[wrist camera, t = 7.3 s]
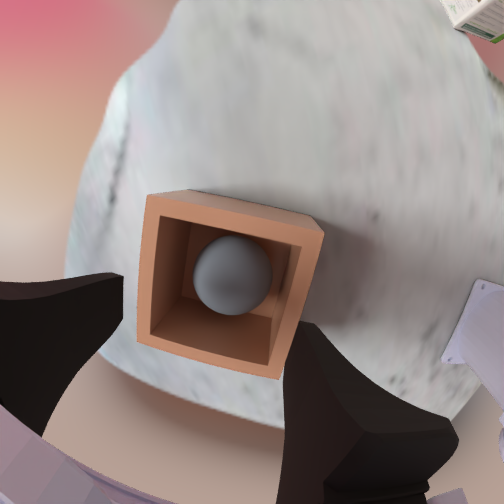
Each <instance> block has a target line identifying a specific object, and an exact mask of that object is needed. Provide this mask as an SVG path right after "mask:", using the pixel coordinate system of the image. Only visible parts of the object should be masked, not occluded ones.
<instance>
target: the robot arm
mask: <svg viewBox="0 0 504 504" xmlns="http://www.w3.org/2000/svg"><path fill="white" fill-rule="evenodd" d="M123 280H124V276H121V275H118V274H115V273H98V274H91V275H85V276H80V277H74V278H68V279H61V280H54V281H47V282H31V283H18V282H1V281H0V504H177V503H173V502H170V501H167V500H164V499H160V498H158V497H155V496H152V495H149V494H147V493H144V492H141V491H139V490H136V489H134V488H131V487H129V486H127V485H124V484H122V483H120V482H118V481H115V480H113V479H111V478H109V477H107V476H105V475H103V474H101V473H99V472H97V471H95V470H93V469H91V468H89V467H87V466H85V465H84V464H82V463H80V462H78V461H76V460H75V459H73V458H71V457H70V456H68V455H67V454H65V453H63V452H62V451H60V450H59V449H57V448H55V447H54V446H52V445H51V444H49V443H48V442H46V441H45V440H44V439H42V435H43V432H44V430H45V428H46V425H47V423H48V421H49V419H50V417H51V415H52V413H53V411H54V409H55V407H56V405H57V403H58V402H59V400H60V398H61V396H62V395H63V393H64V391H65V390H66V388H67V387H68V385H69V384H70V382H71V381H72V379H73V378H74V376H75V375H76V374H77V372H78V371H79V370H80V368H82V366H83V365H84V364H85V363H86V362H87V361H88V360H89V359H90V358H91V356H93V354H95V352H96V351H97V350H98V349H99V348H100V347H101V346H102V345H103V344H104V343H105V342H106V341H107V340H108V339H109V338H110V336H111V335H112V334H113V333H114V331H115V330H116V329H117V327H118V326H119V324H120V323H121V321H122V319H123ZM482 285H483V286H482ZM441 361H442V363H447V364H467V365H468V366H469V367H470V368H471V370H472V371H473V372H474V373H475V375H476V376H477V377H478V378H479V380H480V381H481V382H482V383H483V385H484V386H485V387H486V389H487V390H488V391H489V392H490V394H491V395H492V396H493V398H494V399H495V401H496V402H497V403H498V405H499V406H500V407H501V409H502V410H503V414H502V415H501V416H500V418H499V421H500V422H501V424H502V425H503V429H502V430H501V432H500V435H499V451H500V455H501V458H502V460H503V463H504V286H502V285H498V284H495V283H492V282H489V281H486V280H483V279H477V280H476V281H475V283H474V286H473V288H472V291H471V294H470V296H469V299H468V301H467V304H466V306H465V308H464V311H463V313H462V315H461V318H460V320H459V322H458V324H457V326H456V329H455V331H454V333H453V335H452V337H451V339H450V341H449V343H448V345H447V347H446V349H445V351H444V353H443V354H442V356H441ZM283 399H284V421H285V440H284V450H283V460H282V468H281V475H280V482H279V489H278V495H277V501H276V504H468V503H467V500H466V497H465V494H464V492H463V489H462V488H458V489H455V490H452V491H449V492H446V493H443V494H440V495H437V496H434V497H432V498H430V499H428V500H427V501H426V497H425V494H424V493H425V492H427V491H428V490H429V488H430V487H429V484H428V481H427V480H428V479H429V478H430V477H431V476H432V475H433V474H434V473H436V472H437V471H438V470H439V469H440V468H441V467H442V466H443V465H444V464H445V463H446V462H447V461H448V460H449V459H450V457H451V456H452V455H453V454H454V452H455V450H456V449H457V446H458V442H459V438H458V436H457V434H456V432H455V430H454V428H453V426H452V424H451V422H450V420H449V419H448V418H446V417H443V416H440V415H437V414H434V413H431V412H428V411H425V410H423V409H420V408H418V407H416V406H414V405H411V404H409V403H407V402H405V401H403V400H401V399H399V398H398V397H396V396H394V395H392V394H391V393H389V392H388V391H386V390H384V389H383V388H381V387H380V386H378V385H377V384H375V383H374V382H373V381H371V380H370V379H369V378H367V377H366V376H365V375H364V374H362V373H361V372H360V371H359V370H358V369H356V368H355V367H354V366H353V365H352V364H351V363H350V362H349V361H348V360H347V359H346V358H345V357H344V356H343V355H342V354H341V353H340V352H339V351H338V350H337V349H336V348H335V346H334V345H333V344H332V343H331V342H330V341H329V340H328V338H327V337H326V336H325V335H324V334H323V333H322V331H321V330H320V329H319V328H318V327H317V326H316V325H315V324H313V323H307V322H302V321H299V322H298V325H297V328H296V331H295V334H294V337H293V340H292V343H291V346H290V349H289V352H288V355H287V358H286V361H285V366H284V376H283Z"/></svg>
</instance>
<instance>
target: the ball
mask: <svg viewBox="0 0 504 504" xmlns="http://www.w3.org/2000/svg"><path fill="white" fill-rule="evenodd" d="M192 276H193V284H194V288H195V290H196V292H197V294H198V296H199V298H200V299H201V300H202V302H203V303H204V304H205V305H206V306H208V307H209V308H211V309H212V310H214V311H216V312H218V313H221V314H225V315H240V314H244V313H247V312H249V311H251V310H253V309H255V308H256V307H258V306H259V305H260V304H261V303H262V302H263V301H264V299H265V298H266V296H267V295H268V293H269V291H270V288H271V284H272V276H273V274H272V266H271V263H270V260H269V258H268V256H267V254H266V253H265V251H264V250H263V249H262V248H261V247H260V246H259V245H258V244H257V243H255V242H254V241H252V240H250V239H248V238H246V237H242V236H237V235H228V236H223V237H219V238H217V239H214V240H212V241H211V242H209V243H208V244H207V245H206V246H205V247H204V248H203V249H202V250H201V251H200V252H199V254H198V256H197V258H196V260H195V263H194V266H193V273H192Z"/></svg>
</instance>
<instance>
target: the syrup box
mask: <svg viewBox="0 0 504 504" xmlns="http://www.w3.org/2000/svg"><path fill="white" fill-rule="evenodd" d="M440 1H441V3H442V5H443V7H444V9H445V11H446V13H447V15H448V17H449V19H450V21H451V23H452V25H453V27H454V28H455V29H457V30H462V31H465V32H467V33H470V34H472V35H475V36H478V37H480V38H483V39H485V40H488V41H490V42H492V43H497V42H499V41H501V40H503V39H504V0H440Z"/></svg>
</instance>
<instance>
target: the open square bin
mask: <svg viewBox="0 0 504 504" xmlns="http://www.w3.org/2000/svg"><path fill="white" fill-rule="evenodd" d="M324 234H325V233H324V231H323V230H322V229H321V228H320V227H319V226H318V224H317V223H316V222H315V221H314V220H313V219H312V217H311V216H310V215H305V214H301V213H297V212H293V211H289V210H284V209H280V208H276V207H271V206H267V205H262V204H258V203H253V202H248V201H244V200H239V199H234V198H229V197H224V196H219V195H214V194H209V193H204V192H199V191H193V190H180V191H172V192H164V193H157V194H150V195H147V199H146V206H145V213H144V222H143V230H142V240H141V251H140V263H139V277H138V298H137V342H139V343H142V344H145V345H148V346H150V347H153V348H156V349H159V350H163V351H166V352H169V353H172V354H175V355H178V356H182V357H185V358H189V359H192V360H195V361H199V362H203V363H206V364H210V365H214V366H218V367H222V368H226V369H230V370H234V371H238V372H243V373H247V374H252V375H257V376H262V377H267V378H272V379H277V380H279V378H280V376H281V373H282V370H283V367H284V364H285V361H286V358H287V355H288V352H289V349H290V346H291V343H292V340H293V337H294V334H295V331H296V328H297V325H298V322H299V320H300V317H301V314H302V311H303V307H304V304H305V301H306V298H307V294H308V291H309V288H310V284H311V281H312V277H313V274H314V271H315V267H316V263H317V260H318V256H319V253H320V249H321V245H322V241H323V238H324ZM228 235H237V236H242V237H246V238H248V239H250V240H252V241H254V242H255V243H257V244H258V245H259V246H260V247H261V248H262V249H263V250H264V251H265V253H266V254H267V256H268V258H269V260H270V263H271V266H272V274H273V276H272V284H271V288H270V291H269V293H268V295H267V296H266V298H265V299H264V301H263V302H262V303H261V304H260V305H259V306H258V307H256V308H255V309H253V310H251V311H249V312H247V313H244V314H240V315H225V314H221V313H218V312H216V311H214V310H212V309H211V308H209V307H208V306H206V305H205V304H204V303H203V302H202V300H201V299H200V298H199V296H198V294H197V292H196V290H195V288H194V284H193V276H192V273H193V266H194V263H195V260H196V258H197V256H198V254H199V252H200V251H201V250H202V249H203V248H204V247H205V246H206V245H207V244H208V243H209V242H211V241H212V240H214V239H217V238H219V237H223V236H228Z"/></svg>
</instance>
